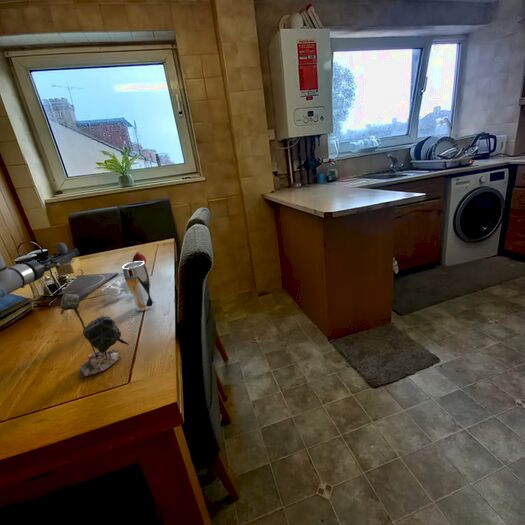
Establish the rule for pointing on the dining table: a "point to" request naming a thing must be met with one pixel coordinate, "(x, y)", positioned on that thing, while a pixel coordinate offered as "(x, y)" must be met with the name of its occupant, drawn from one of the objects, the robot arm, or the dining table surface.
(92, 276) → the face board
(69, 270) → the rubber stamp
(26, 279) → the robot arm
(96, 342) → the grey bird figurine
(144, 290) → the beer glass
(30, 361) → the dining table surface
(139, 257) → the onion
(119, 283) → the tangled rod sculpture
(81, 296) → the ink pad
